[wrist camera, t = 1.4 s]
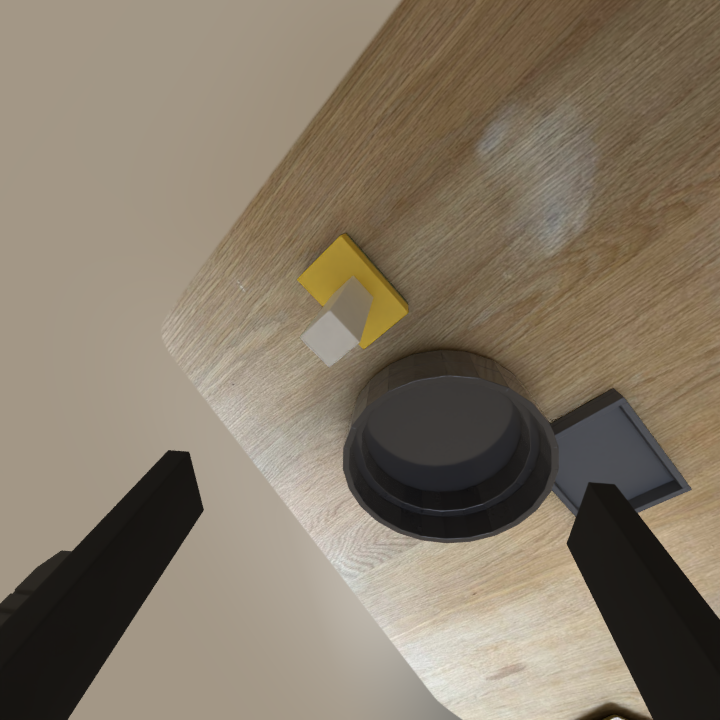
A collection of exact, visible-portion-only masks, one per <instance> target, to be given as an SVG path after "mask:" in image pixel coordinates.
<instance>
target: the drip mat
mask: <svg viewBox="0 0 720 720" xmlns="http://www.w3.org/2000/svg"><path fill="white" fill-rule="evenodd" d="M550 425H551V427H552V430H553V432H554V435H555V438H556V440H557V443H558V447H559V469H558V473H557V476H556V479H555V482H554V484H553V487H552V491H553V492H554V493H555V494H556V495H557V496H558V498H559V499H560V500H561V501H562V502H563V503H564V504H565V505H566V507H567V508H568V509H569V510H570V511H571V512H572V513H573V514H574V515H575V517H576V516H577V513H578V511H579V508H580V505H581V502H582V499H583V497H584V494H585V491H586V488H587V485H588V483H589V482H593V483H606V484H615V485H616V486H617V487H618V489H619V490H620V491H621V493H622V494H623V495H624V497H625V498H626V499H627V500H628V502H629V503H630V504H631V506H632V507H633V508H634V509H635V511H636V512H637V513H638V512H641V511H643V510H645V509H648V508H650V507H652V506H655V505H657V504H659V503H662V502H664V501H666V500H669V499H671V498H673V497H676V496H678V495H680V494H683V493H685V492H687V491H690V490H692V489H691V487H690V486H689V485H688V483H687V482H686V480H685V479H684V478H683V476H682V475H681V474H680V472H679V471H678V470H677V468H676V467H675V466H674V464H673V463H672V461H671V460H670V459H669V457H668V456H667V455H666V453H665V452H664V451H663V449H662V448H661V447H660V445H659V444H658V443H657V441H656V440H655V438H654V437H653V436H652V434H651V433H650V432H649V430H648V429H647V428H646V426H645V425H644V424H643V422H642V421H641V420H640V418H639V417H638V415H637V414H636V413H635V411H634V410H633V409H632V407H631V406H630V405H629V403H628V402H627V401H626V399H625V398H624V397H623V396H622V395H621V394H620V393H618V392H617V391H616V390H615V389H614V388H613V389H611V390H609V391H608V392H606V393H604V394H602V395H600V396H599V397H597V398H595V399H593V400H592V401H590V402H588V403H586V404H585V405H583V406H581V407H579V408H578V409H576V410H574V411H572V412H571V413H569V414H567V415H565V416H563V417H562V418H560V419H558V420H556V421H555V422H553V423H551V424H550Z"/></svg>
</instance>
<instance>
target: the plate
mask: <svg viewBox="0 0 720 720" xmlns="http://www.w3.org/2000/svg"><path fill="white" fill-rule="evenodd" d="M602 720H628V719H625V718H623V717H620V716H618V715H610V716H608V717H606V718H604V719H602Z"/></svg>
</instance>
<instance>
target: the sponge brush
mask: <svg viewBox="0 0 720 720" xmlns="http://www.w3.org/2000/svg"><path fill="white" fill-rule="evenodd" d="M297 280H298V281H299V282H300V283H301V285H302V286H303V287H304V288H305V289H306V290H307V291H308V292H309V293H310V294H311V295H312V296H313V297H314V298H315V299H316V300H317V301H318V302H319V303H320V304H321V305H322V309H321V310H320V311H319V313H318V314H317V315H316V316H315V318H314V319H313V320H312V322H311V323H310V324H309V325H308V327H307V328H306V329H305V331H304V332H303V333H302V334H301V336H300V339H301V340H302V341H303V342H304V343H305V344H306V345H307V346H308V347H309V348H310V349H311V350H312V351H313V352H314V353H315V354H316V355H317V356H318V357H319V358H320V359H321V360H322V361H323V362H324V363H325V364H326V365H327V366H328V367H331V366H332V365H334V364H335V363H336V362H337V361H338V360H340V359H341V358H342V357H343V356H344V355H346V354H347V353H348V352H349V351H350V350H352V349H353V348H354V347H355V346H356V345H358V344H359V345H360V346H361V347H362V348H363V349H365V348H366V347H368V346H369V345H370V344H371V343H372V342H374V341H375V340H376V339H377V338H379V337H380V336H381V335H382V334H383V333H385V332H386V331H387V330H388V329H390V328H391V327H392V326H393V325H394V324H396V323H397V322H398V321H399V320H401V319H402V318H403V317H404V316H405V315H407V314H408V313H409V311H408V303H407V301H406V300H405V299H404V298H403V297H402V296H401V295H400V293H399V292H398V291H397V290H396V289H395V288H394V287H393V285H392V284H391V283H390V282H389V281H388V280H387V278H386V277H385V276H384V275H383V274H382V273H381V272H380V270H379V269H378V268H377V267H376V266H375V265H374V264H373V262H372V261H371V260H370V259H369V258H368V257H367V256H366V254H365V253H364V252H363V251H362V250H361V249H360V248H359V246H358V245H357V244H356V243H355V242H354V241H353V240H352V238H351V237H350V236H349V235H348V234H347V233H345V234H342V235H340V236H339V237H338V238H337V239H336V240H335V241H334V242H333V243H332V244H331V245H330V246H329V247H328V248H327V249H326V250H325V251H324V252H323V253H322V254H321V255H320V256H319V257H318V258H317V259H316V260H315V261H314V262H313V263H312V265H311V266H310V267H309V268H308V269H307V270H306V271H305V272H304V273H303V274H302V275H301V276H300V277H299V278H298V279H297Z"/></svg>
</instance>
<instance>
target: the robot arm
mask: <svg viewBox="0 0 720 720" xmlns="http://www.w3.org/2000/svg"><path fill="white" fill-rule="evenodd" d="M203 510H204V509H203V505H202V501H201V497H200V493H199V489H198V485H197V481H196V477H195V473H194V469H193V465H192V461H191V457H190V453H189V452H184V451H171V450H168V451H167V452H166V453H165V454H164V456H163V457H162V458H161V459H160V460H159V461H158V462H157V463H156V464H155V465H154V466H153V467H152V468H151V469H150V470H149V471H148V472H147V474H145V475H144V476H143V478H142V479H141V480H140V481H139V482H138V483H137V484H136V485H135V486H134V487H133V488H132V489H131V490H130V491H129V492H128V493H127V494H126V495H125V496H124V498H122V500H121V501H120V502H119V503H118V504H117V505H116V506H115V507H114V508H113V509H112V510H111V511H110V512H109V513H108V514H107V515H106V516H105V517H104V518H103V519H102V520H101V522H100V523H99V524H98V525H97V526H96V527H95V528H94V529H93V530H92V531H91V532H90V533H89V534H88V535H87V536H86V537H85V538H84V539H83V540H82V541H81V543H80V544H79V545H78V546H77V547H76V548H75V549H74V550H73V551H72V552H71V551H60V552H59V553H57V554H56V555H54V556H53V557H51V558H50V559H48V560H47V561H46V562H44V563H43V564H41V565H40V566H38V567H37V568H36V569H35V570H34V571H33V572H32V573H31V574H30V575H29V576H28V577H27V578H26V579H25V580H24V581H23V582H22V583H21V584H20V585H19V586H18V587H17V588H16V589H15V592H14V593H13V594H10V595H9V596H8V597H7V598H5V600H3V601H2V603H0V720H68V718H69V716H70V715H71V714H72V712H73V710H74V709H75V707H76V706H77V704H78V703H79V701H80V700H81V698H82V697H83V695H84V694H85V692H86V690H87V689H88V687H89V686H90V684H91V683H92V681H93V680H94V678H95V676H96V675H97V674H98V672H99V670H100V669H101V667H102V666H103V664H104V663H105V661H106V659H107V658H108V657H109V655H110V653H111V652H112V650H113V649H114V647H115V646H116V644H117V643H118V641H119V640H120V638H121V637H122V635H123V634H124V632H125V630H126V629H127V627H128V626H129V624H130V623H131V621H132V620H133V618H134V617H135V615H136V613H137V612H138V610H139V609H140V607H141V606H142V604H143V603H144V601H145V600H146V598H147V596H148V595H149V594H150V592H151V590H152V589H153V587H154V586H155V584H156V583H157V581H158V580H159V578H160V577H161V575H162V574H163V572H164V570H165V569H166V567H167V566H168V564H169V563H170V561H171V560H172V558H173V556H174V555H175V554H176V552H177V550H178V549H179V547H180V546H181V544H182V543H183V541H184V539H185V538H186V537H187V535H188V534H189V532H190V530H191V529H192V527H193V526H194V524H195V523H196V521H197V520H198V518H199V517H200V515H201V513H202V512H203ZM567 546H568V548H569V550H570V552H571V554H572V556H573V558H574V560H575V562H576V564H577V566H578V568H579V570H580V572H581V574H582V576H583V578H584V580H585V582H586V584H587V586H588V588H589V590H590V592H591V594H592V596H593V598H594V600H595V602H596V604H597V606H598V608H599V610H600V612H601V615H602V617H603V619H604V621H605V623H606V625H607V627H608V629H609V631H610V633H611V635H612V637H613V639H614V641H615V643H616V645H617V647H618V649H619V651H620V653H621V655H622V657H623V659H624V661H625V663H626V665H627V667H628V669H629V671H630V673H631V675H632V677H633V679H634V681H635V683H636V686H637V688H638V690H639V692H640V694H641V696H642V698H643V700H644V702H645V704H646V706H647V708H648V710H649V712H650V714H651V716H652V718H653V720H720V619H719V618H718V617H717V615H716V614H715V613H714V612H713V610H712V609H711V608H710V606H709V605H708V604H707V603H706V601H705V600H704V599H703V597H702V596H701V595H700V594H699V592H698V591H697V590H696V588H695V587H694V586H693V584H692V583H691V582H690V581H689V579H688V578H687V577H686V575H685V574H684V573H683V572H682V570H681V569H680V568H679V566H678V565H677V564H676V562H675V561H674V560H673V559H672V557H671V556H670V555H669V553H668V552H667V551H666V550H665V548H664V547H663V546H662V544H661V543H660V542H659V540H658V539H657V538H656V537H655V535H654V534H653V533H652V531H651V530H650V529H649V528H648V526H647V525H646V524H645V522H644V521H643V520H642V519H641V517H640V516H639V515H638V513H637V512H636V511H635V509H634V508H633V507H632V506H631V504H630V503H629V502H628V500H627V499H626V498H625V497H624V495H623V494H622V493H621V491H620V490H619V489H618V487H617V486H616V485H615V484H606V483H593V482H589V483H588V485H587V488H586V491H585V494H584V497H583V499H582V502H581V505H580V508H579V511H578V513H577V516H576V519H575V522H574V525H573V527H572V530H571V533H570V536H569V539H568V541H567Z"/></svg>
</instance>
